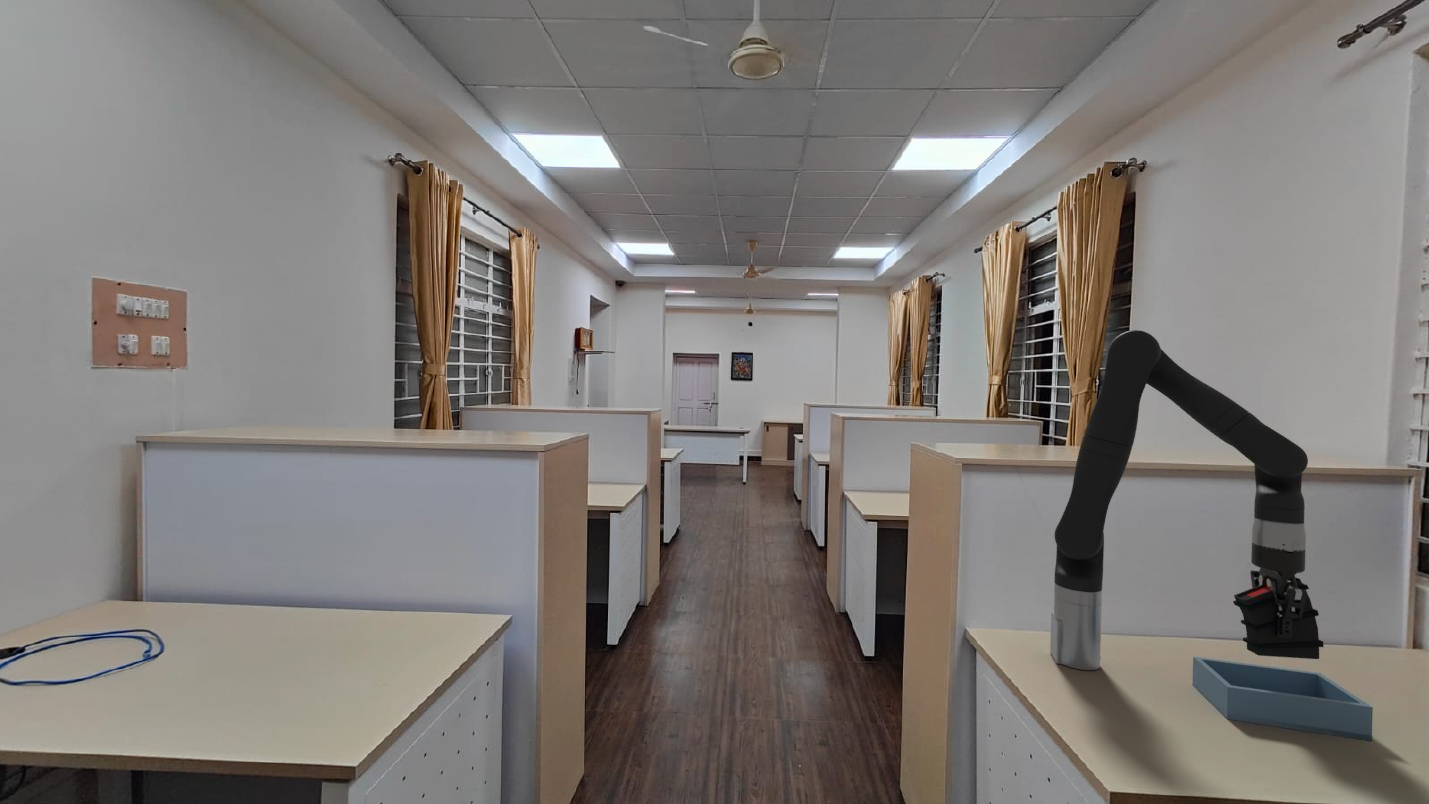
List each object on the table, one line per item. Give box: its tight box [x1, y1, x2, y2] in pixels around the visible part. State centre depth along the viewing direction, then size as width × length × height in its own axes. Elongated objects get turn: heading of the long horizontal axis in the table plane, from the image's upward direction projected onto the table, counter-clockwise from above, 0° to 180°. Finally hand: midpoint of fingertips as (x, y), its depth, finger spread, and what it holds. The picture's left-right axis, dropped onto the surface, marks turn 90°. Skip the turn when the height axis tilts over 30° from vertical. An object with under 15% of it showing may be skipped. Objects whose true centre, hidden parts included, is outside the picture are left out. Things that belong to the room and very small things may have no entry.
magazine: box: [1232, 576, 1324, 660], centre depth 114 cm, size 4×13×15 cm, turn 84°
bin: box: [1191, 656, 1374, 742], centre depth 114 cm, size 21×14×6 cm, turn 72°
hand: (1275, 631), depth 114 cm, fingers closed on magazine, 4 cm apart
